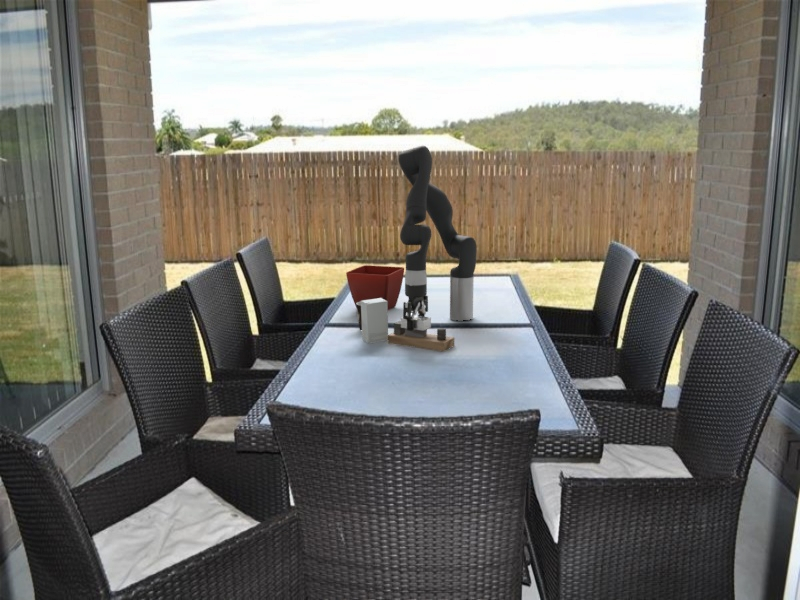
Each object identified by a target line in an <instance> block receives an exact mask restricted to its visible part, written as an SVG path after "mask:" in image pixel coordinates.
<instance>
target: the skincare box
mask: <svg viewBox="0 0 800 600" xmlns="http://www.w3.org/2000/svg"><path fill="white" fill-rule="evenodd" d="M388 311H389V310H388V301H386V300H384V299H382V298H376V299H370V300H363V301H361V319H362V331H361V338H362V341H364V342H365V343H367V344H374V343H379V342H386V341H387V342H388V335H389V322H388V321H389V319H388V317H389V314H388V313H389V312H388Z"/></svg>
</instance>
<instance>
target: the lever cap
mask: <svg viewBox="0 0 800 600" xmlns="http://www.w3.org/2000/svg"><path fill="white" fill-rule="evenodd" d="M411 316H412V314H411ZM413 320H414V329H415V330H423V331H424V330H426V329H427V330H429V329H430V328H431V327H432V317H430V316H425V317H424V316H418V315H417V314H416V315H415V316H414V319H413ZM400 321H401V328H407V320H406V319H403V316H402V317H400Z"/></svg>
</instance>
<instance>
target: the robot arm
mask: <svg viewBox="0 0 800 600" xmlns="http://www.w3.org/2000/svg"><path fill="white" fill-rule="evenodd" d="M397 157H398V158H397V159H398V163H399V166H400V168H401V170H402V172H403V174H404V176H405V178H406V179H407V180H408V181H409V183H410V184H411V188H410V190H409V192H408V195H407V197H406V202H405V219H404V222H403V224H402V227H401V229H400V235H399V238H400V242H401V243H402V244H403V245H404V246H420V247H419V249H417V250H414V251H410V252H407V253H406V254H405V271H404V273H405V274H404V295H405V296H406V297H407V298H408V301H404V302H403V305H402V306H403V310H402V311H403V314H402V315H403V316H402V317H403V319H406V320H407V330H409V331H413V329H414V320H413V319H414V316H415V315H416V316H424V317H426V313H428V312H429V300H428V298H429V296H428V295H427V292H428V291H427V290H428V288H427V287H428V286H427V285H428V284H427V283H428V279H427V277H428V276H427V253H428V248H429V245H430V243H431V242H430V241H431V239H432V229H431V227H430V226H429V225H428V224H421V223H423V222H425V221H426V219H427V214H428V216H429V218H430V219H431V221H432V223H433V224H434V226H435V228H436V231H437V232H438V234H439V237H440V239H441V241H442V244H443V246H444V249H445V251H446V253H447V255H448V256H449V257H451V258H453V259H456V260H457V259H458V261H459V262H458V265H457V266H455V267H452V268H451V269H450V271H449V274H450V275H449V278H450V279H449V320H451V321H456V320H458V321H457V322H464V321H463V320H468V321H471V320H470V319H472V318H473V319H474V277H475V276H474V275H475V274H474V273H475V269H476V267H477V266H476V265H477V264H476V263H477V254H478V253H477V252H478V250H477V247H478V246H477V242H476V240H475V238H474V237H472V236H467V235H460V234H459V233H458V232H457V231H456V229H455V227H454V224H453V215H454V212H453V211H454V208H453V206H452V204H451V202H450V200H449V198H448V196H447V195H446V192H444V191H443V189H440V188H438V187H437V186H436V185H434V184H433V183H430V179H431V173H432V168H433V157H432V152H431V150H430V149H429V148H428V147H427V146H425V145H418V146H414V147H413V148H408V149H406V150H403V151H401V152H400V153H399V154H398V156H397ZM417 314H418V315H417ZM411 315H412V316H411ZM473 319H472V320H473Z"/></svg>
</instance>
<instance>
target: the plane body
mask: <svg viewBox="0 0 800 600" xmlns="http://www.w3.org/2000/svg"><path fill="white" fill-rule="evenodd" d="M427 330H428V329H426V330H424V331H423V330H415V329H413V331H409V330H407V328H401V320H398V321H396V322H394V323H393V332H392V333H390V334H389V333H388V340H387V344H390V345H396V346H398V345H399V346H403V347H412V348H418V349H425V350H432V351H436V352H446V351H448V350H450V349H451V348H453V347H455V337H453V336H447V329H446V328H443V327H441V328H437V331H436V334H432V333H431V334H429V333H428V331H427ZM452 346H453V347H452ZM449 348H450V349H449Z"/></svg>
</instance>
